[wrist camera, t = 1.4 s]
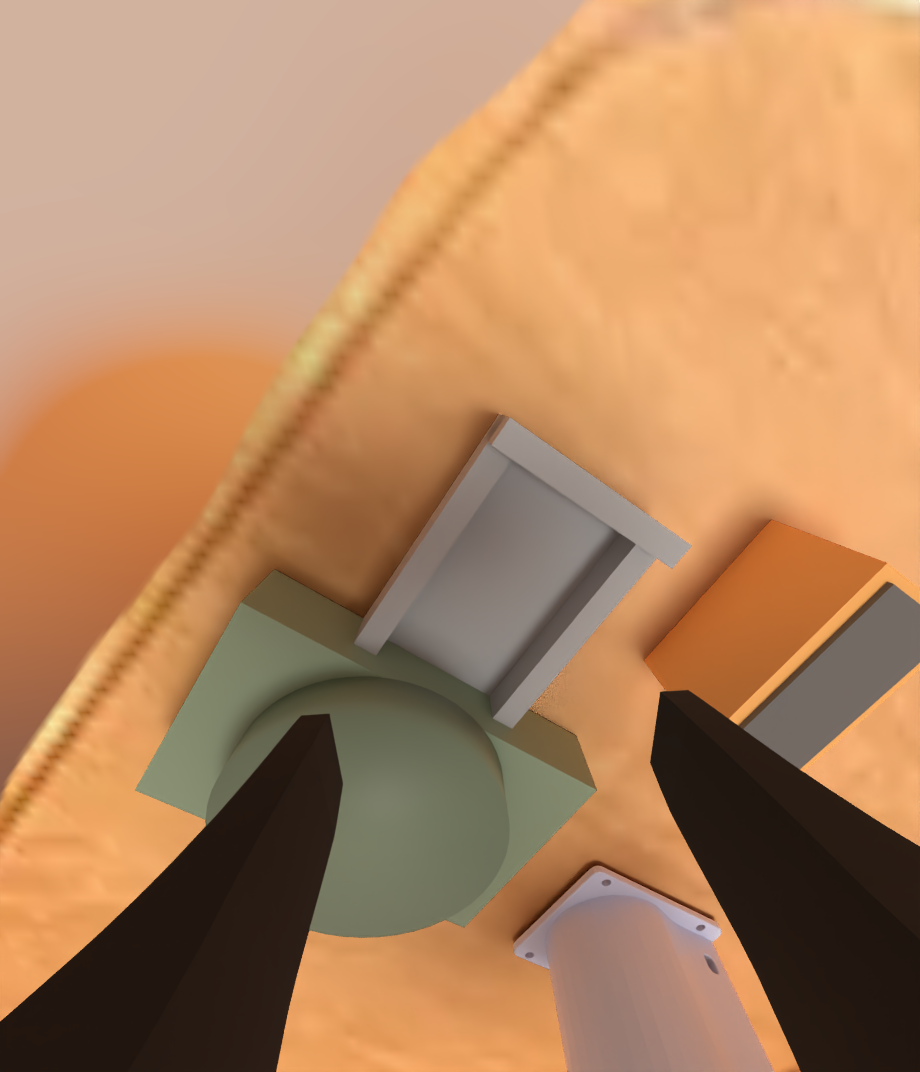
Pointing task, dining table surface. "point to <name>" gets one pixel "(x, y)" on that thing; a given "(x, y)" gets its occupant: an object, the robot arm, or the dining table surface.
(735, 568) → the orange-framed grey panel
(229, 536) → the dining table surface
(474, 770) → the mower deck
